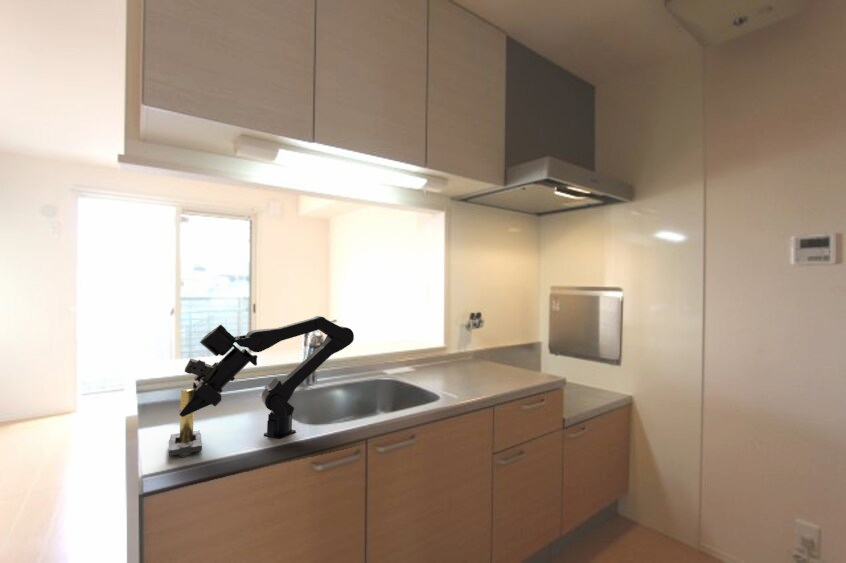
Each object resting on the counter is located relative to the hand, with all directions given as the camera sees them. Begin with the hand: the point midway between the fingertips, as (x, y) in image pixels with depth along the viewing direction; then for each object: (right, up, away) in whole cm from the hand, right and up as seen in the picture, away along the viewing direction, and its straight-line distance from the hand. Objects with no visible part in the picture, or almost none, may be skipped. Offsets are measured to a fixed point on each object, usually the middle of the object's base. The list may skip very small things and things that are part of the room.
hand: (180, 414), depth 103 cm
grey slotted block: (0, -9, +2) cm, 9 cm away
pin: (+1, -7, 0) cm, 7 cm away
